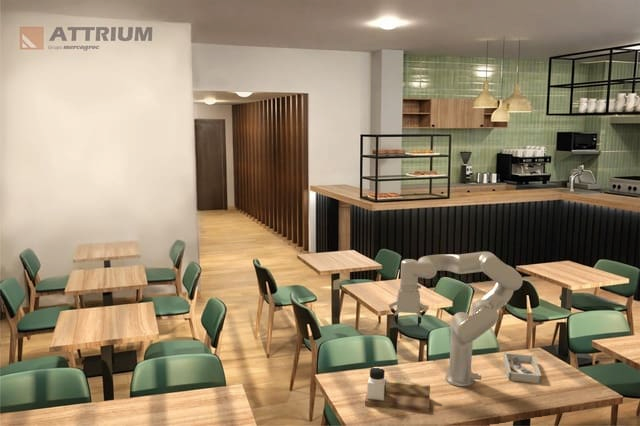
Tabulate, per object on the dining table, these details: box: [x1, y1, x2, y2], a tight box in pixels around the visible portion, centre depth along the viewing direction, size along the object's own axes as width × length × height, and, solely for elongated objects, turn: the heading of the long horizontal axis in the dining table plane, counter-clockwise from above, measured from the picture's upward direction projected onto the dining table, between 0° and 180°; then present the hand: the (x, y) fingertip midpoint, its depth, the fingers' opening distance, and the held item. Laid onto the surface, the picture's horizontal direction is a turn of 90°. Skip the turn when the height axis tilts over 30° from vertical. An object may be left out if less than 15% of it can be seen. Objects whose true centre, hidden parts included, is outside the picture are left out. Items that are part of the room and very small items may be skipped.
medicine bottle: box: [366, 366, 387, 400], centre depth 232 cm, size 7×7×12 cm
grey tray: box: [502, 352, 543, 384], centre depth 262 cm, size 14×23×4 cm, turn 168°
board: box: [364, 379, 431, 414], centre depth 232 cm, size 26×12×6 cm, turn 78°
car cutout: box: [509, 357, 536, 375], centre depth 262 cm, size 15×7×4 cm, turn 16°
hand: (407, 324), depth 249 cm, fingers open, 9 cm apart
